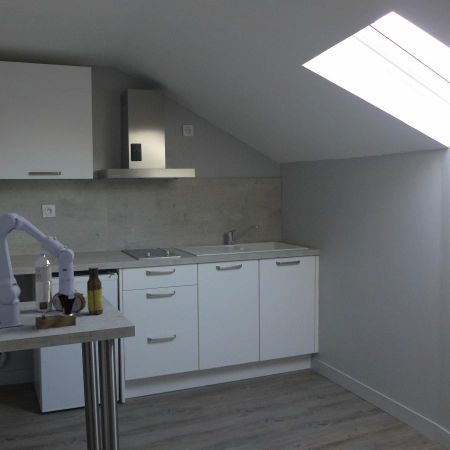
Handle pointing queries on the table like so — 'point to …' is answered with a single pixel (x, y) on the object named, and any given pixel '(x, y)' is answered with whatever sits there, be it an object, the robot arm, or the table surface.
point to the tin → (77, 305)
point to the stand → (54, 321)
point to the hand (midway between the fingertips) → (67, 313)
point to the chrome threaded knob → (43, 308)
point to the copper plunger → (65, 314)
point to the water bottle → (43, 281)
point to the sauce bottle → (94, 292)
